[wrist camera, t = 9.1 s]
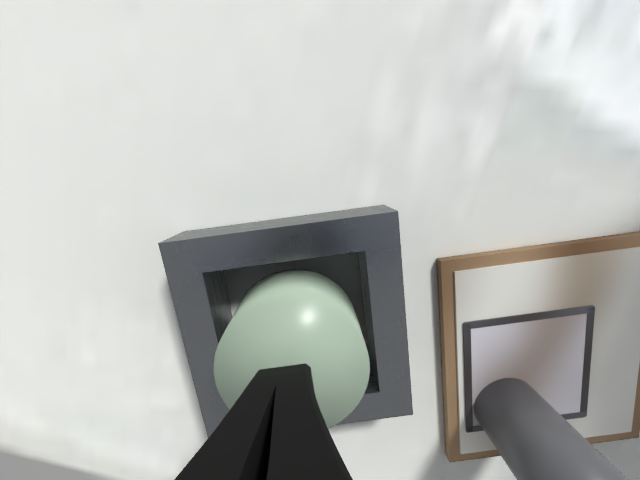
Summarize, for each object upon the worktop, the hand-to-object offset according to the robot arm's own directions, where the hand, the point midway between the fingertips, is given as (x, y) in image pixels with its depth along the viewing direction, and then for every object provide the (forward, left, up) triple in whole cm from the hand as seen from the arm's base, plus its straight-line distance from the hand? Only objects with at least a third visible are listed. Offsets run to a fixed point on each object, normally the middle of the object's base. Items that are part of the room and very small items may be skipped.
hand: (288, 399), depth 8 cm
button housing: (0, 0, -5) cm, 5 cm away
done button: (0, 0, -4) cm, 4 cm away
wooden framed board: (-11, +3, -5) cm, 12 cm away
